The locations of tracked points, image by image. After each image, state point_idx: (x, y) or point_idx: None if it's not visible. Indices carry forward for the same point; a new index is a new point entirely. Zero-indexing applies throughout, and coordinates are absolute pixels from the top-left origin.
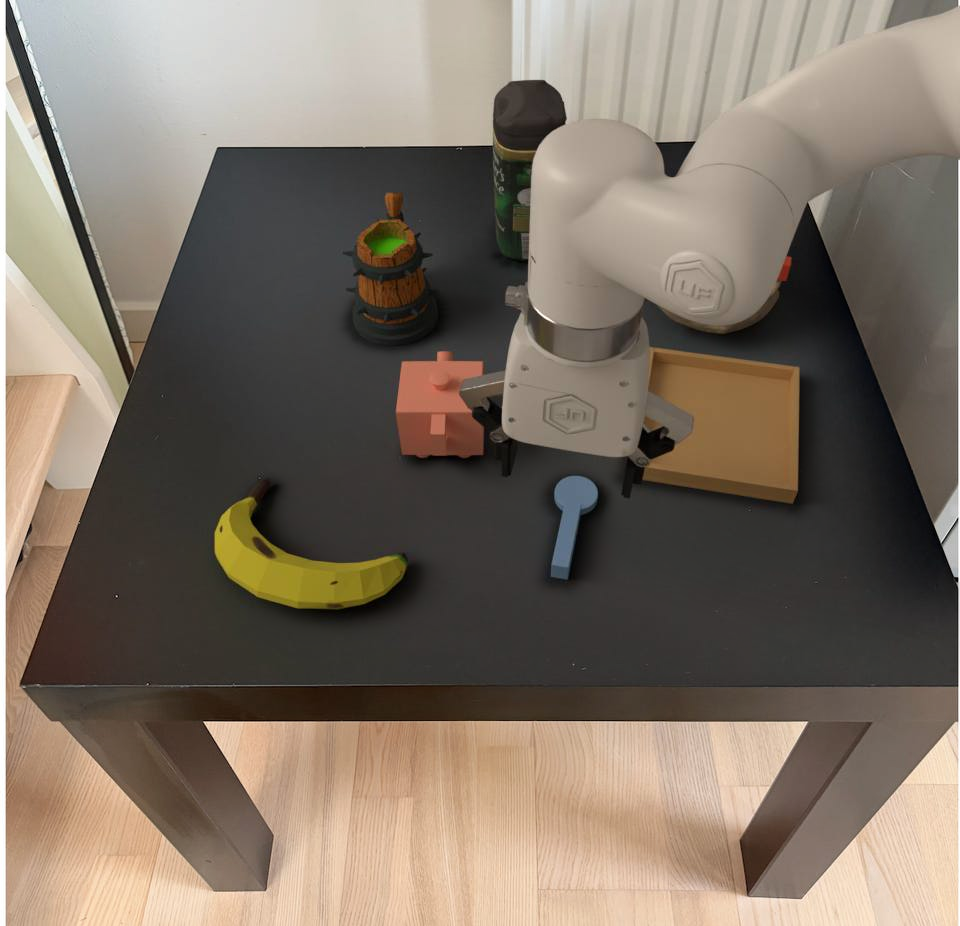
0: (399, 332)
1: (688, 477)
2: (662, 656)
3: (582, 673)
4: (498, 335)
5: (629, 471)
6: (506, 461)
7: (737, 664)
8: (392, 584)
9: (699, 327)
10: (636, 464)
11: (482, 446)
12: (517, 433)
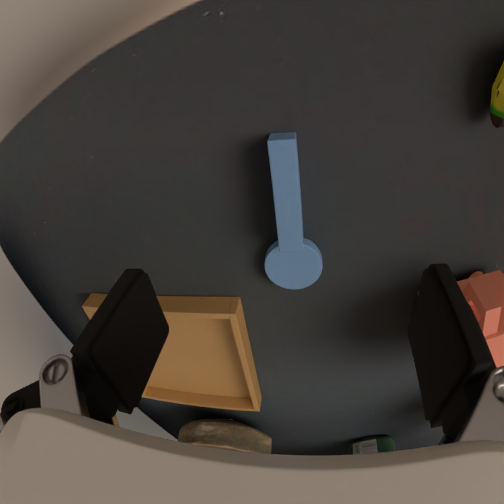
0: None
1: (171, 307)
2: (121, 73)
3: (205, 6)
4: (396, 395)
5: (86, 341)
6: (458, 309)
7: (58, 106)
8: (502, 72)
9: (222, 425)
10: (69, 362)
11: None
12: (497, 494)
